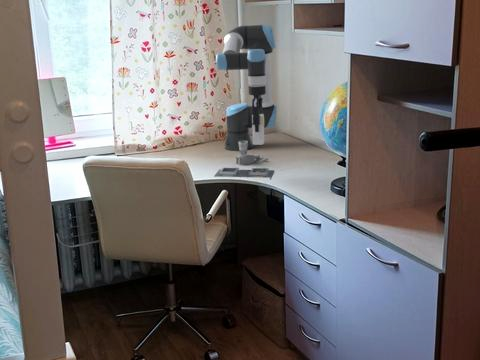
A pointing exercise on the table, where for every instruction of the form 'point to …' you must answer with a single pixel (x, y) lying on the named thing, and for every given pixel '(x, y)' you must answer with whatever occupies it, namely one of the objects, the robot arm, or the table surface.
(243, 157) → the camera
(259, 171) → the panel
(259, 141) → the plug
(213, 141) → the table surface
